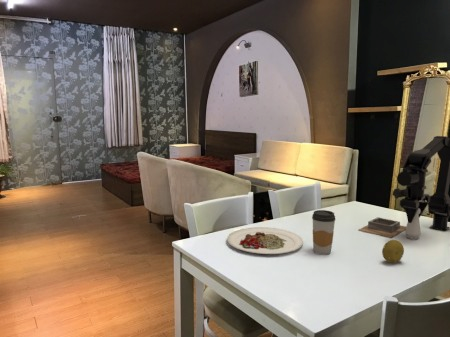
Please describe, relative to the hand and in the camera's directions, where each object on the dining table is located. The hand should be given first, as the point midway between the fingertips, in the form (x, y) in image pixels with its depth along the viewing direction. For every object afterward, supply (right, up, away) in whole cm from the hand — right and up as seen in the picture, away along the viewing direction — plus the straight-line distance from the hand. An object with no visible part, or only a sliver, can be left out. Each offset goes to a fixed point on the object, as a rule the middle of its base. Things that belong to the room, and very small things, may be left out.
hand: (413, 220), depth 148 cm
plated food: (-62, -9, -5) cm, 63 cm away
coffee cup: (-42, -10, -15) cm, 45 cm away
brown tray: (-7, -6, +12) cm, 15 cm away
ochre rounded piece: (-20, -11, -24) cm, 33 cm away
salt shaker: (0, -8, +1) cm, 8 cm away
